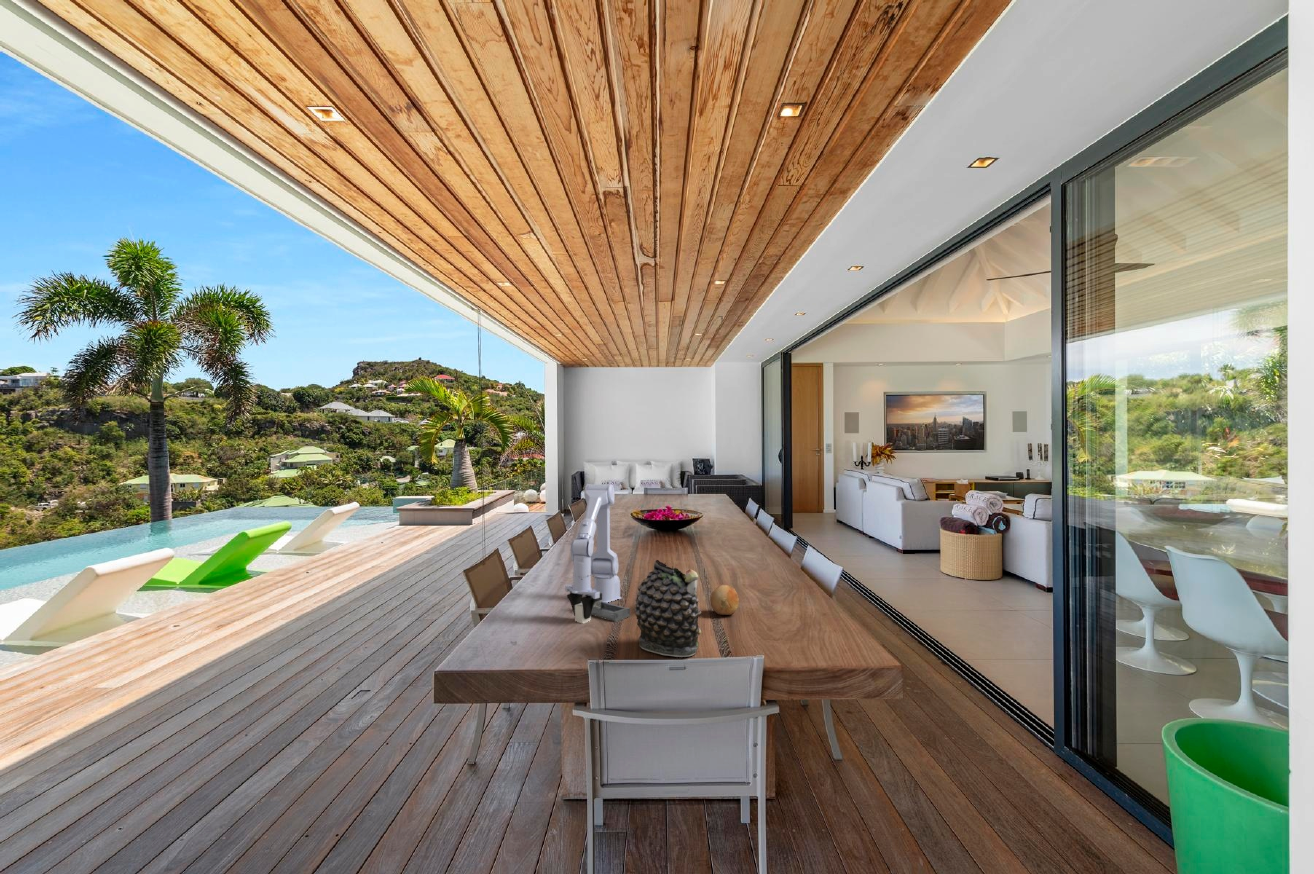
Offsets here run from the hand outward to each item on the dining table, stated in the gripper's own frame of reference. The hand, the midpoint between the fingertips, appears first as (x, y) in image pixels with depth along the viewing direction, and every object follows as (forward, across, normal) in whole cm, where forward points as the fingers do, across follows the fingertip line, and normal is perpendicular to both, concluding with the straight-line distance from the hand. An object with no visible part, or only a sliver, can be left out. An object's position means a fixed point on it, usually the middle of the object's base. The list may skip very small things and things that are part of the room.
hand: (582, 616), depth 194 cm
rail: (+1, +1, +10) cm, 10 cm away
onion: (+2, +32, +36) cm, 48 cm away
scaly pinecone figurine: (+2, +38, -2) cm, 38 cm away
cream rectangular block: (+1, 0, 0) cm, 1 cm away
